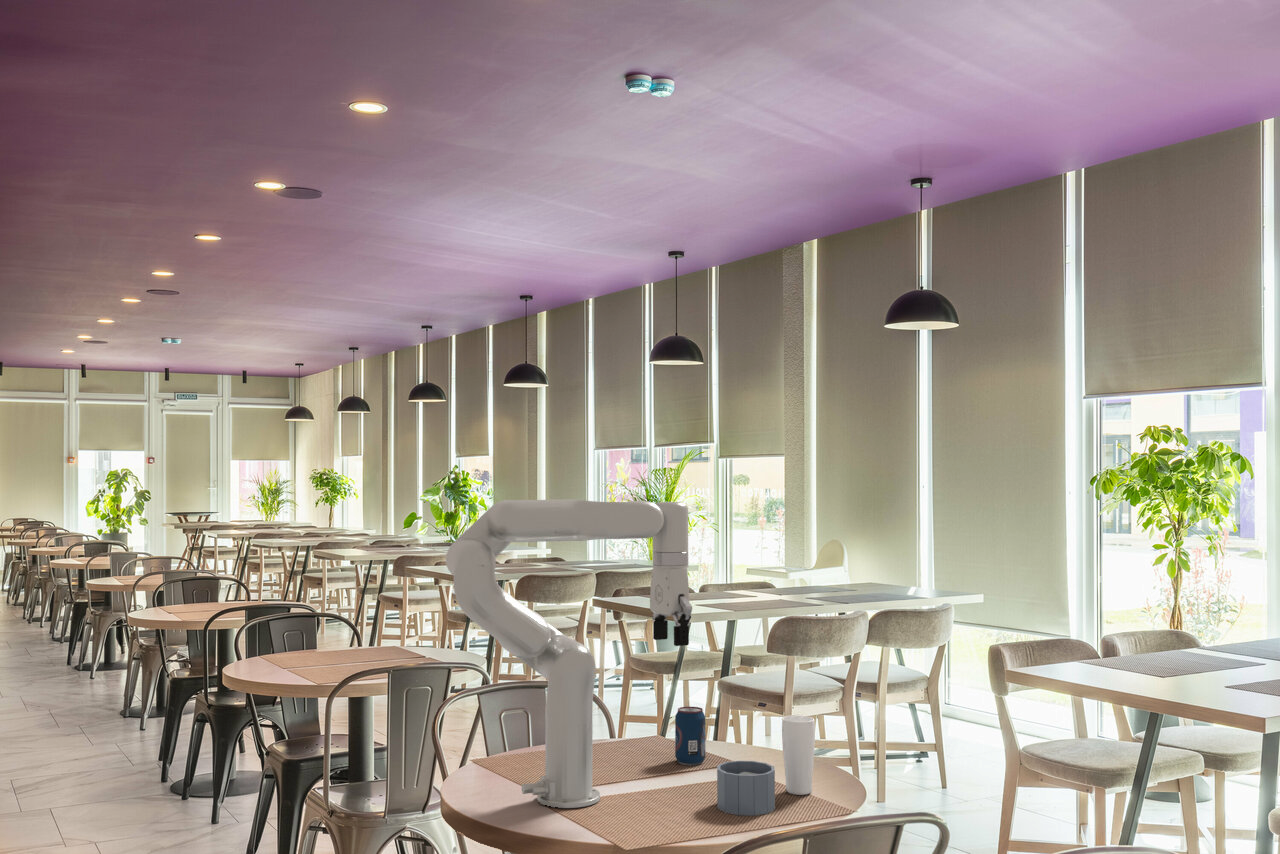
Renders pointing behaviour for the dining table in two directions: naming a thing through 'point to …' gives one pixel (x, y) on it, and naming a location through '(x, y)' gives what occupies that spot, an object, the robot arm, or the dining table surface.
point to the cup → (745, 788)
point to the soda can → (690, 736)
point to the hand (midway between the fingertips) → (670, 642)
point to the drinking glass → (798, 753)
